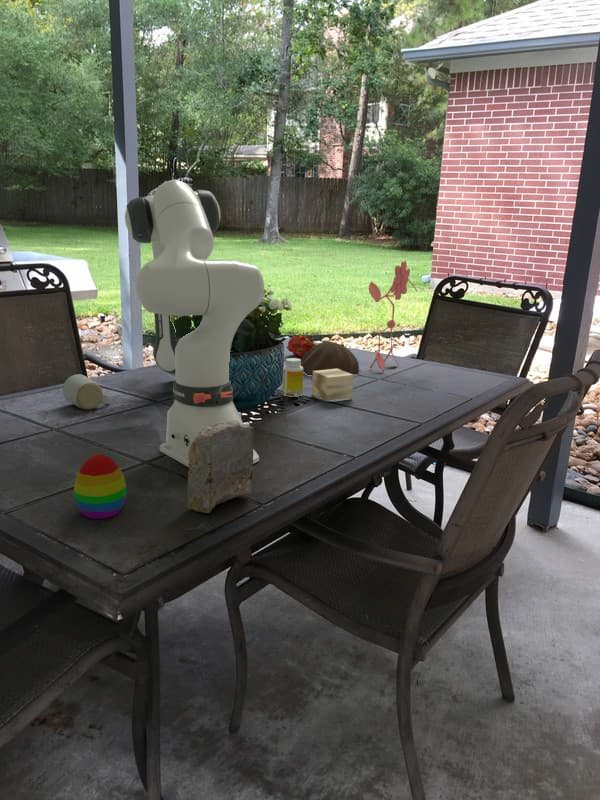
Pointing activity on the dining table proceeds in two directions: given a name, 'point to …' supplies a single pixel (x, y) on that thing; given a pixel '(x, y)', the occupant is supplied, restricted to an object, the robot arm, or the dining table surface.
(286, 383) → the supplement bottle
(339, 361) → the decorative dome
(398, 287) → the figurine
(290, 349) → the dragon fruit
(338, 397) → the beech block
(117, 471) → the decorative egg
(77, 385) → the ceramic mug
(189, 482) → the geological specimen
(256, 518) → the dining table surface
